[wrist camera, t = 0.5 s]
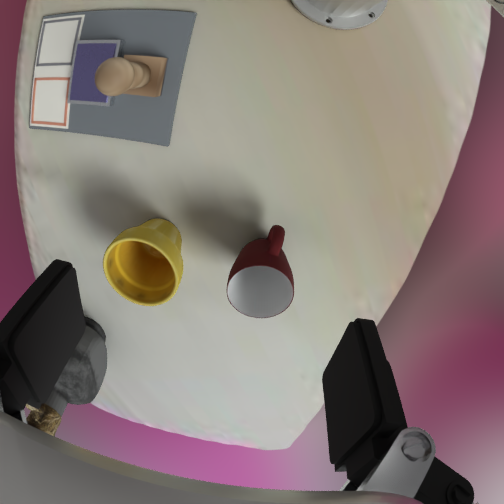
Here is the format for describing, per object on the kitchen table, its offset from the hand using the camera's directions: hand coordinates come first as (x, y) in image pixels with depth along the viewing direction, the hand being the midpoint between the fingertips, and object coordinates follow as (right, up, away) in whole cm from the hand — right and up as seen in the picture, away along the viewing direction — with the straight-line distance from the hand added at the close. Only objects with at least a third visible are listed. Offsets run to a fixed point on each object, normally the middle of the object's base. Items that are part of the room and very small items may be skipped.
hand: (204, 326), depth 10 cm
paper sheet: (-26, +28, +23) cm, 45 cm away
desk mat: (-19, +26, +24) cm, 40 cm away
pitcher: (-31, -12, +48) cm, 59 cm away
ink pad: (-19, +26, +24) cm, 40 cm away
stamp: (-12, +24, +24) cm, 36 cm away
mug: (+3, +4, +36) cm, 36 cm away
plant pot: (-12, +5, +36) cm, 39 cm away
